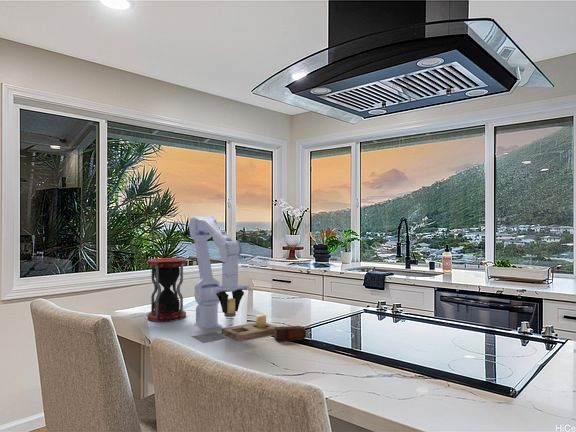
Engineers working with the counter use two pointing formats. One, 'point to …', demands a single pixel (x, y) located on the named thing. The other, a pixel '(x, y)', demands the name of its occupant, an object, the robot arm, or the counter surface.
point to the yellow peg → (230, 308)
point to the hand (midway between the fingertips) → (230, 311)
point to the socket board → (247, 331)
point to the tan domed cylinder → (260, 321)
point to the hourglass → (166, 289)
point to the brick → (289, 333)
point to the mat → (209, 337)
